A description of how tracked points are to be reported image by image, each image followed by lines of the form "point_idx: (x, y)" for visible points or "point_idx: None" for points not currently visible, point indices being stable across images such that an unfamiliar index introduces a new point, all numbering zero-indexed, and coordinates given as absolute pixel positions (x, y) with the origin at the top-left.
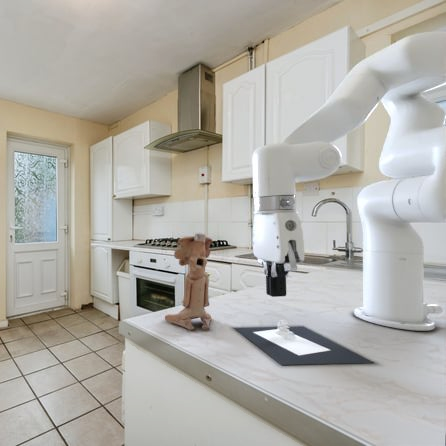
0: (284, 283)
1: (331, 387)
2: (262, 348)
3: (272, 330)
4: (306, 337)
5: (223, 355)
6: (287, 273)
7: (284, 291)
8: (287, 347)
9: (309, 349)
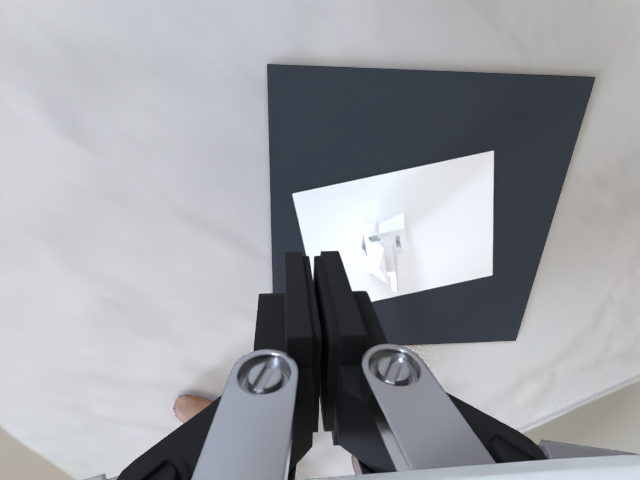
0: (379, 326)
1: (613, 296)
2: (431, 340)
3: (309, 238)
4: (386, 153)
5: None
6: (432, 380)
7: (365, 291)
8: (443, 273)
9: (471, 218)
